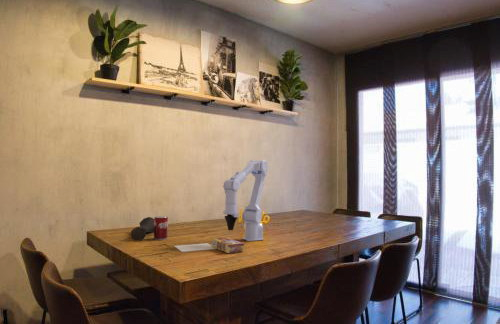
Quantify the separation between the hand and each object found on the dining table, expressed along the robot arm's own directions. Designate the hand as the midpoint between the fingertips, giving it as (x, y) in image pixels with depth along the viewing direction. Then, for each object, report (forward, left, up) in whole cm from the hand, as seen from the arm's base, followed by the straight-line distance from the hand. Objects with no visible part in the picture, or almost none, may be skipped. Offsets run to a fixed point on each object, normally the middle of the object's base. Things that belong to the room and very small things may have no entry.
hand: (230, 230), depth 171 cm
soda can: (+29, -28, -8) cm, 41 cm away
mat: (+18, 0, -7) cm, 20 cm away
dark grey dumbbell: (+35, -41, -8) cm, 54 cm away
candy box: (+7, +2, -5) cm, 9 cm away
